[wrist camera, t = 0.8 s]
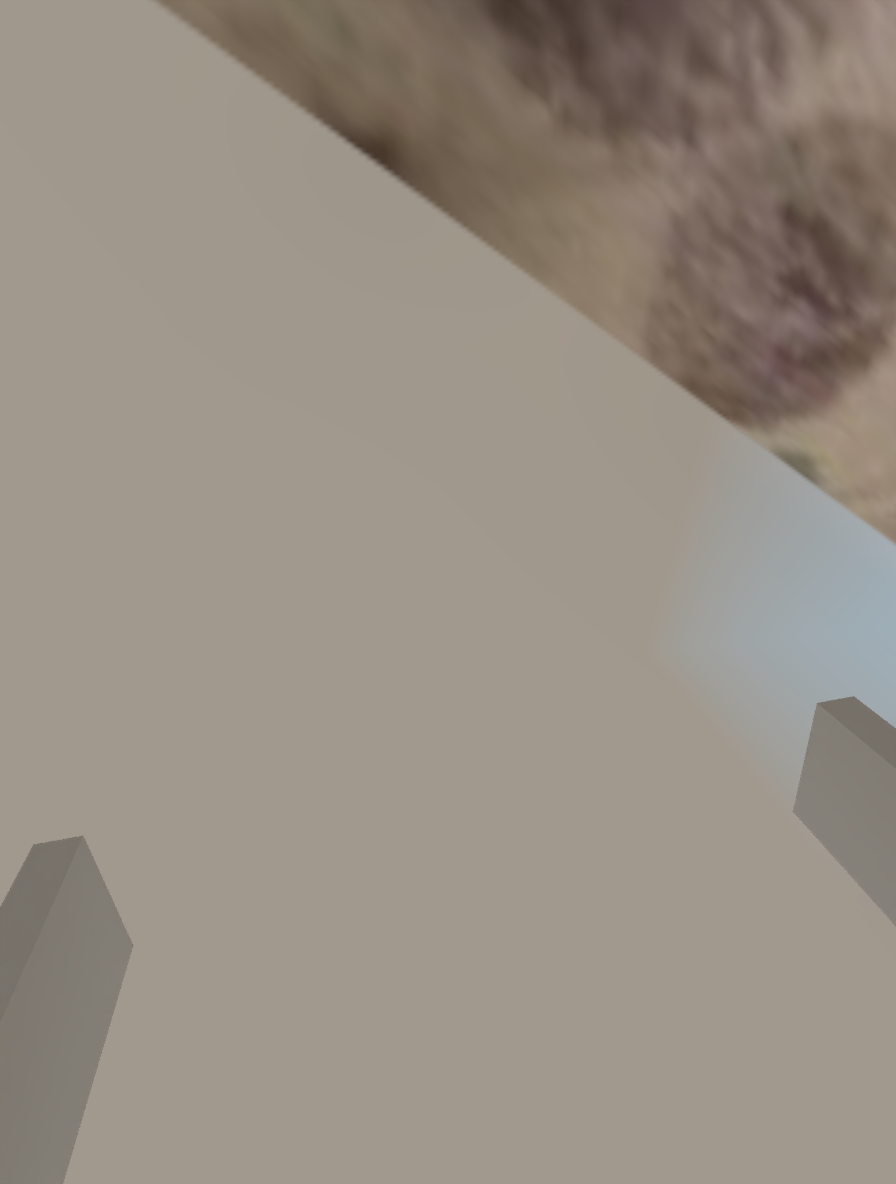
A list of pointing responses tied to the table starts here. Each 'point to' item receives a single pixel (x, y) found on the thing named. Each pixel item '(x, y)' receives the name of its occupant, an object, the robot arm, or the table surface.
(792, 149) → the table surface
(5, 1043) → the robot arm
